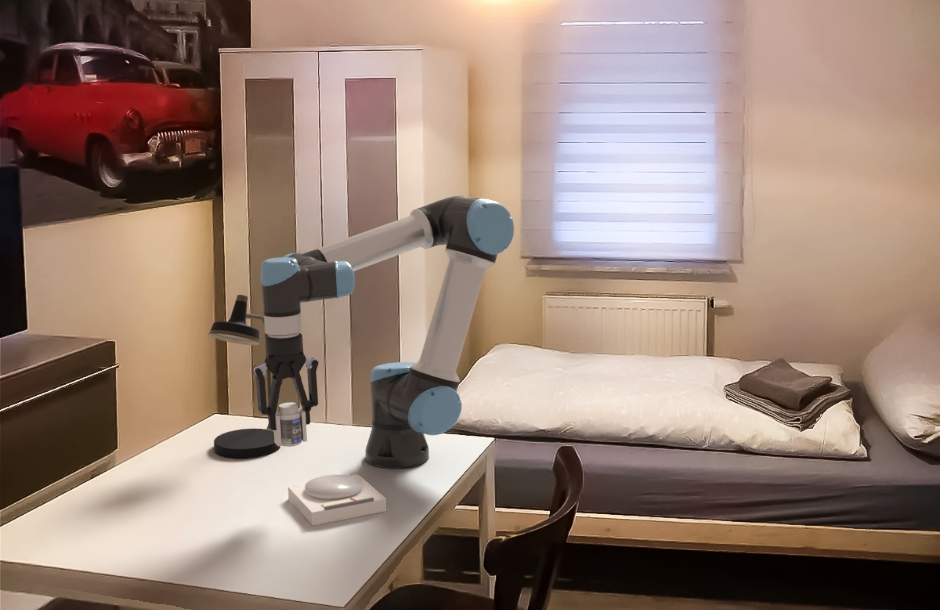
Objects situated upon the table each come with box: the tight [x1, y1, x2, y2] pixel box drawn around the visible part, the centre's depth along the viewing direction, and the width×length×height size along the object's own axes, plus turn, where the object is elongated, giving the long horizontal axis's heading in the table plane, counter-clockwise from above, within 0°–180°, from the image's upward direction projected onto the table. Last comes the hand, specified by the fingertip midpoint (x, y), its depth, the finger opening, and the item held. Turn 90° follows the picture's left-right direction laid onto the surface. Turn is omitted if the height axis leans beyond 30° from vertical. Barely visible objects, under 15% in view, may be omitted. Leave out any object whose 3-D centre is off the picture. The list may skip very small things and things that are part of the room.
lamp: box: [208, 294, 282, 460], centre depth 254 cm, size 16×22×38 cm
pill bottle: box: [278, 402, 303, 448], centre depth 217 cm, size 5×5×8 cm
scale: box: [287, 473, 387, 526], centre depth 220 cm, size 16×16×4 cm
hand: (290, 441), depth 218 cm, fingers closed on pill bottle, 5 cm apart
